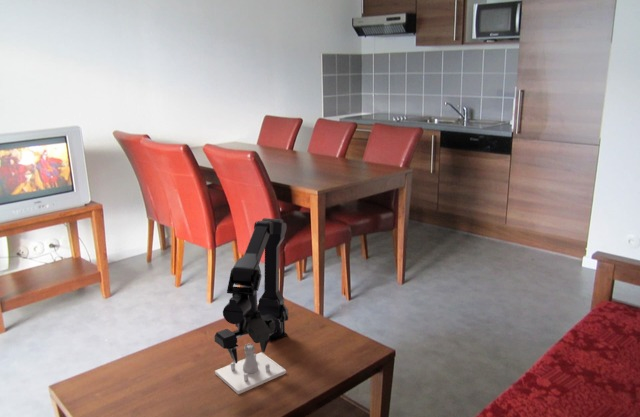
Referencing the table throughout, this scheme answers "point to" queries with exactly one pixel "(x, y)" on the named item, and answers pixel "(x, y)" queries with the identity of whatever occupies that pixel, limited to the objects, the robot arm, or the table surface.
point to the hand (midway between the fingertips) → (249, 357)
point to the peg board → (245, 381)
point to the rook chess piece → (250, 360)
